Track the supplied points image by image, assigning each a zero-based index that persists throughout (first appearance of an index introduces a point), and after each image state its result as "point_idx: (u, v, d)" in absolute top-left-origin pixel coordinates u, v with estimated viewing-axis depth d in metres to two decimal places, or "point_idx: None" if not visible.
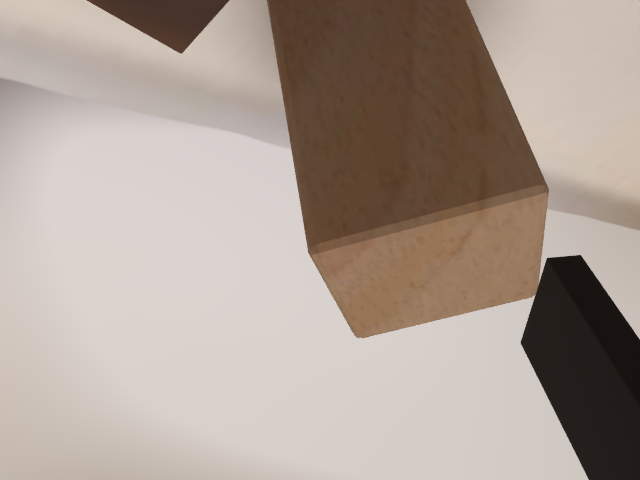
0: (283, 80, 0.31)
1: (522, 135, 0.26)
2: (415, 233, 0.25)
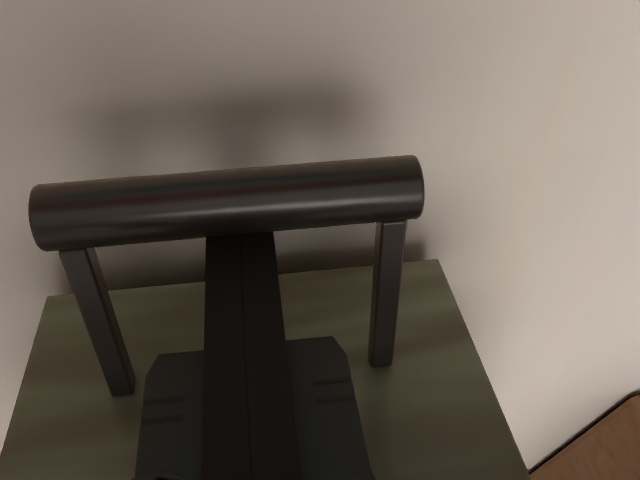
0: None
1: None
2: None
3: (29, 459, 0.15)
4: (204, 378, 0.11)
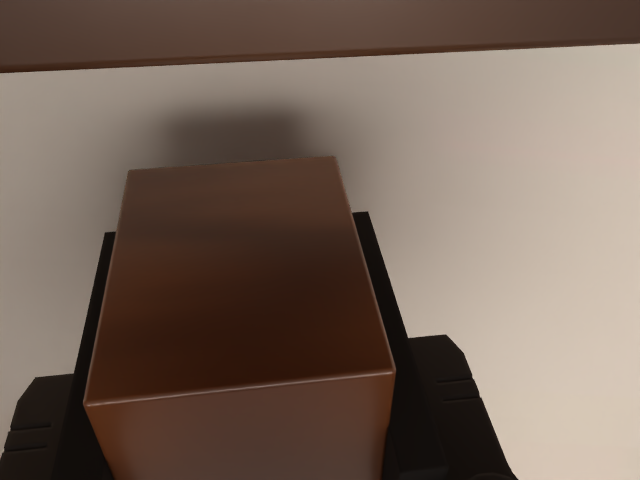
0: None
1: None
2: None
3: None
4: (68, 405, 0.10)
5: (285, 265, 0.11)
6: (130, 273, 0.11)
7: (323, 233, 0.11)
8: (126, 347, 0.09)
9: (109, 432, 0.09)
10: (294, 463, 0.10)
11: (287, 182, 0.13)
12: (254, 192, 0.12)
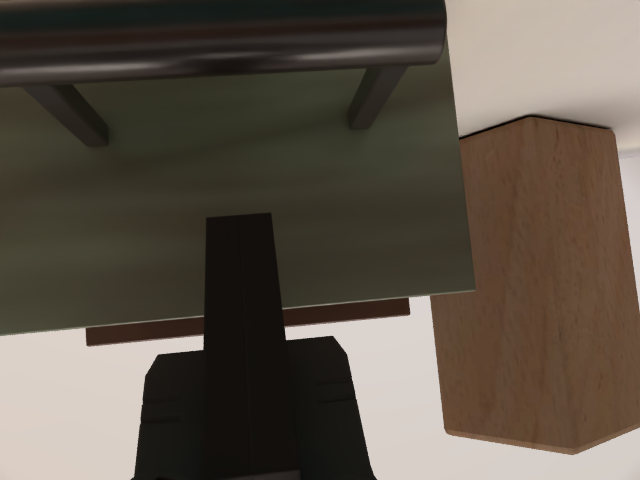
0: None
1: (566, 401, 0.35)
2: (499, 442, 0.39)
3: (19, 211, 0.16)
4: (204, 378, 0.11)
5: None
6: None
7: None
8: None
9: None
10: None
11: None
12: None
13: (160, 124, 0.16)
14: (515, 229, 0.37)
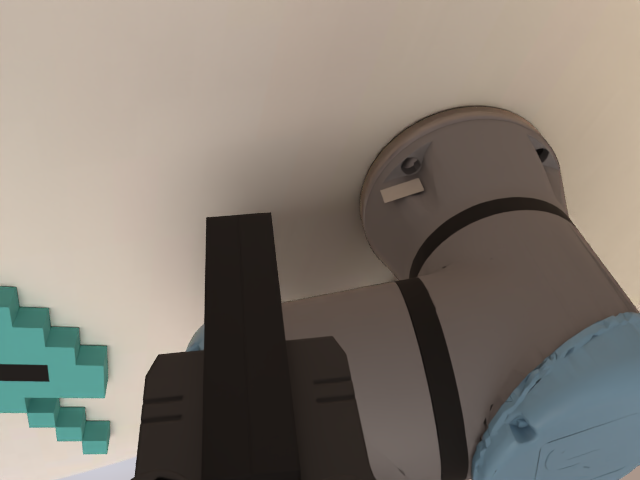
0: None
1: None
2: None
3: None
4: (204, 378, 0.11)
5: None
6: None
7: None
8: None
9: None
10: None
11: None
12: None
13: None
14: None
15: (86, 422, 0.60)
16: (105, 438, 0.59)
